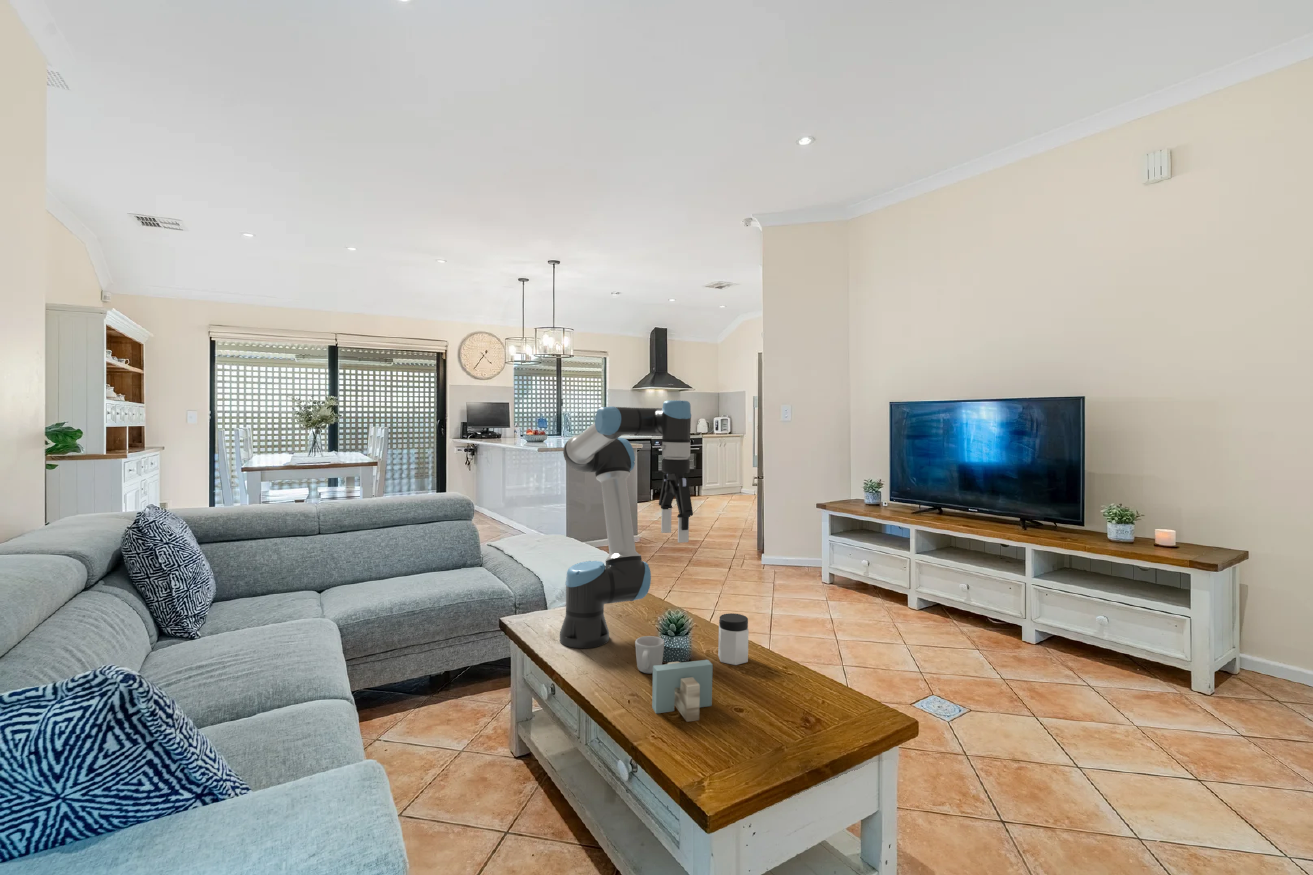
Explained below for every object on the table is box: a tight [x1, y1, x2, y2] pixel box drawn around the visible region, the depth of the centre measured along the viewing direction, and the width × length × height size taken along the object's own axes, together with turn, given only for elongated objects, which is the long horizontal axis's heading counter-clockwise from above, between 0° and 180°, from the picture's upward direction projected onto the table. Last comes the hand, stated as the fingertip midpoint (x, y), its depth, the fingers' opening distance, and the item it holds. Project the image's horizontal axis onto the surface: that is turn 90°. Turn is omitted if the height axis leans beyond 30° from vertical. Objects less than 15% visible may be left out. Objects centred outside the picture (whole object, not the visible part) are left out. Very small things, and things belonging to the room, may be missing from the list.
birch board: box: [666, 661, 700, 723], centre depth 142 cm, size 14×3×8 cm, turn 18°
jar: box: [717, 613, 749, 666], centre depth 172 cm, size 9×8×12 cm
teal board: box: [651, 659, 714, 714], centre depth 142 cm, size 3×14×10 cm, turn 108°
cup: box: [634, 635, 665, 674], centre depth 162 cm, size 11×8×8 cm
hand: (674, 537), depth 161 cm, fingers open, 13 cm apart
